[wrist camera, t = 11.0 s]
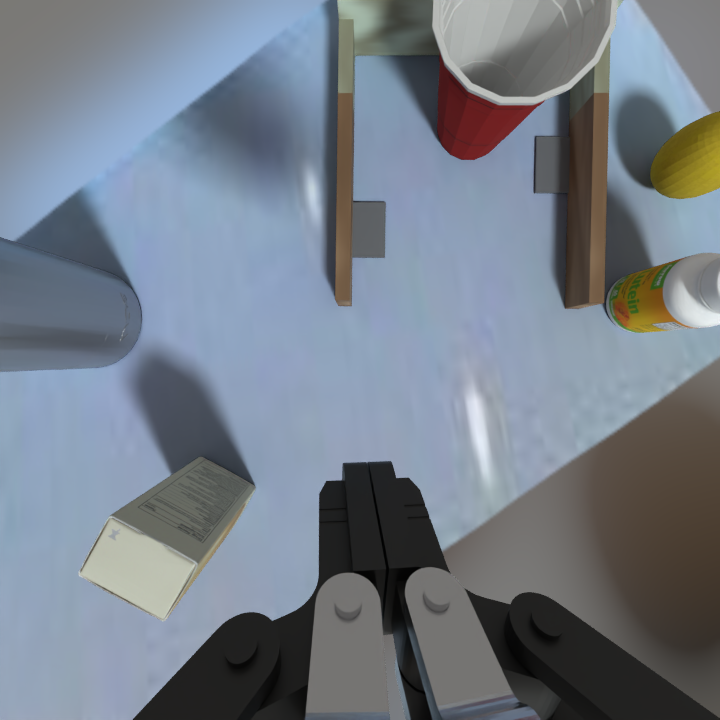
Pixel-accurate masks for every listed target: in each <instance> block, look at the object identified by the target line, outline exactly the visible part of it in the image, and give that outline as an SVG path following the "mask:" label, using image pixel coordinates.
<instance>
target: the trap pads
mask: <svg viewBox="0 0 720 720" xmlns="http://www.w3.org/2000/svg"><path fill="white" fill-rule="evenodd" d="M569 165H570V137H536V144H535V192H534V193H569ZM385 208H386V202H353V232H352V257H358V258H385Z"/></svg>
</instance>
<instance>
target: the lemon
mask: <svg viewBox="0 0 720 720" xmlns="http://www.w3.org/2000/svg"><path fill="white" fill-rule="evenodd" d="M650 177H651V182H652V184H653V186H654V188H655V189H656V190H657V191H658V192H659V193H660V194H662V195H664V196H667V197H669V198H676V199H685V198H693V197H697V196H700V195H703V194H706V193H709V192H711V191H714V190H716V189H718V188H720V111H719V112H715V113H712V114H709V115H707V116H705V117H702V118H700V119H698V120H696V121H694V122H693V123H691V124H689V125H687V126H685V127H684V128H682V129H681V130H680V131H678V132H677V133H676V134H675V135H674V136H672V137H671V138H670V139H669V140H668V141H667V142H666V143H665V144H664V145H663V146H662V147H661V149H660V150H659V152H658V153H657V154H656V156H655V158H654V160H653V163H652V166H651V172H650Z"/></svg>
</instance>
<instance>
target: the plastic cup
mask: <svg viewBox="0 0 720 720" xmlns="http://www.w3.org/2000/svg"><path fill="white" fill-rule="evenodd" d="M617 2H618V0H433V23H432V28H433V33H434V36H435V39H436V42H437V45H438V49H439V62H440V69H439V87H438V120H437V131H438V136H439V139H440V141H441V144H442V146H443V147H444V148H445V149H446V151H447V152H448V153H449V154H450V155H452V156H454V157H457V158H459V159H461V160H475V159H477V158H480V157H482V156H485V155H486V154H488V153H489V152H490V151H492V150H493V149H494V148H495V147H496V146H497V145H498V144H499V143H500V142H501V141H502V140H503V139H504V138H505V137H506V136H508V135H509V134H510V133H511V132H512V131H513V130H514V129H515V128H516V127H517V126H518V125H519V124H520V123H521V122H522V121H523V120H524V119H525V118H526V117H527V116H528V115H529V114H530V113H531V112H532V111H533V110H534V109H535V108H536V107H537V106H539V105H541V104H542V103H543V102H544V101H545V100H547V99H549V98H552V97H554V96H556V95H559V94H561V93H564V92H566V91H568V90H569V89H571V88H572V87H573V86H574V85H575V84H576V83H577V82H578V81H579V80H580V79H581V78H582V77H583V76H584V75H585V74H586V73H587V72H588V71H589V70H590V69H591V68H592V67H594V66H595V65H596V64H597V63H598V62H599V59H600V57H601V55H602V53H603V51H604V49H605V47H606V45H607V43H608V41H609V38H610V36H611V34H612V32H613V30H614V28H615V26H616V14H617Z"/></svg>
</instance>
